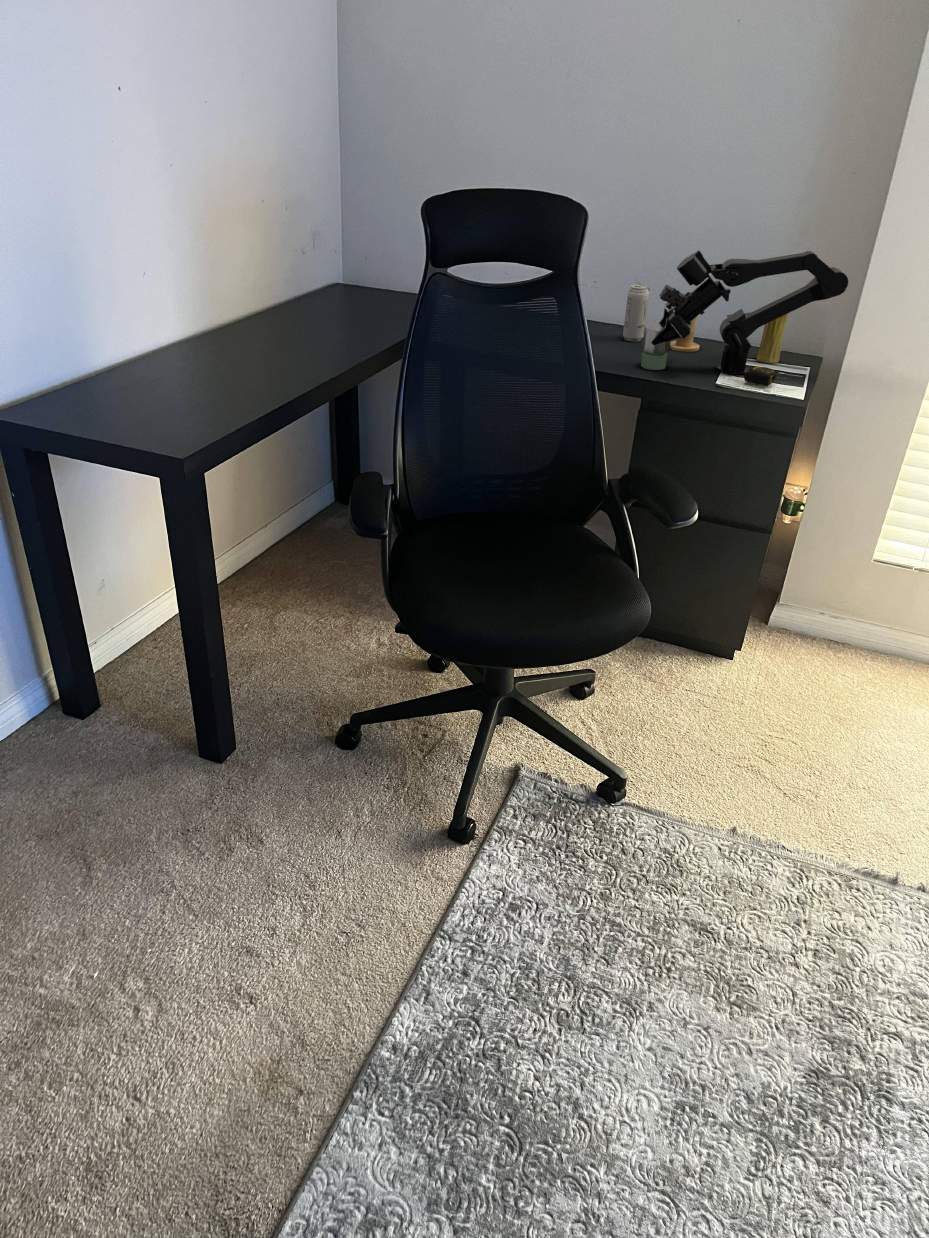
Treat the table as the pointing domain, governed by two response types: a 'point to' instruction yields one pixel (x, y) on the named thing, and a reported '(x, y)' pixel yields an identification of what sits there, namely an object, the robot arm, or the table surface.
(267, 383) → the table surface
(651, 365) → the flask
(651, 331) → the cap
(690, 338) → the peg
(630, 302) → the energy drink can
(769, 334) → the vase
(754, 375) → the tape measure
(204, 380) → the table surface
